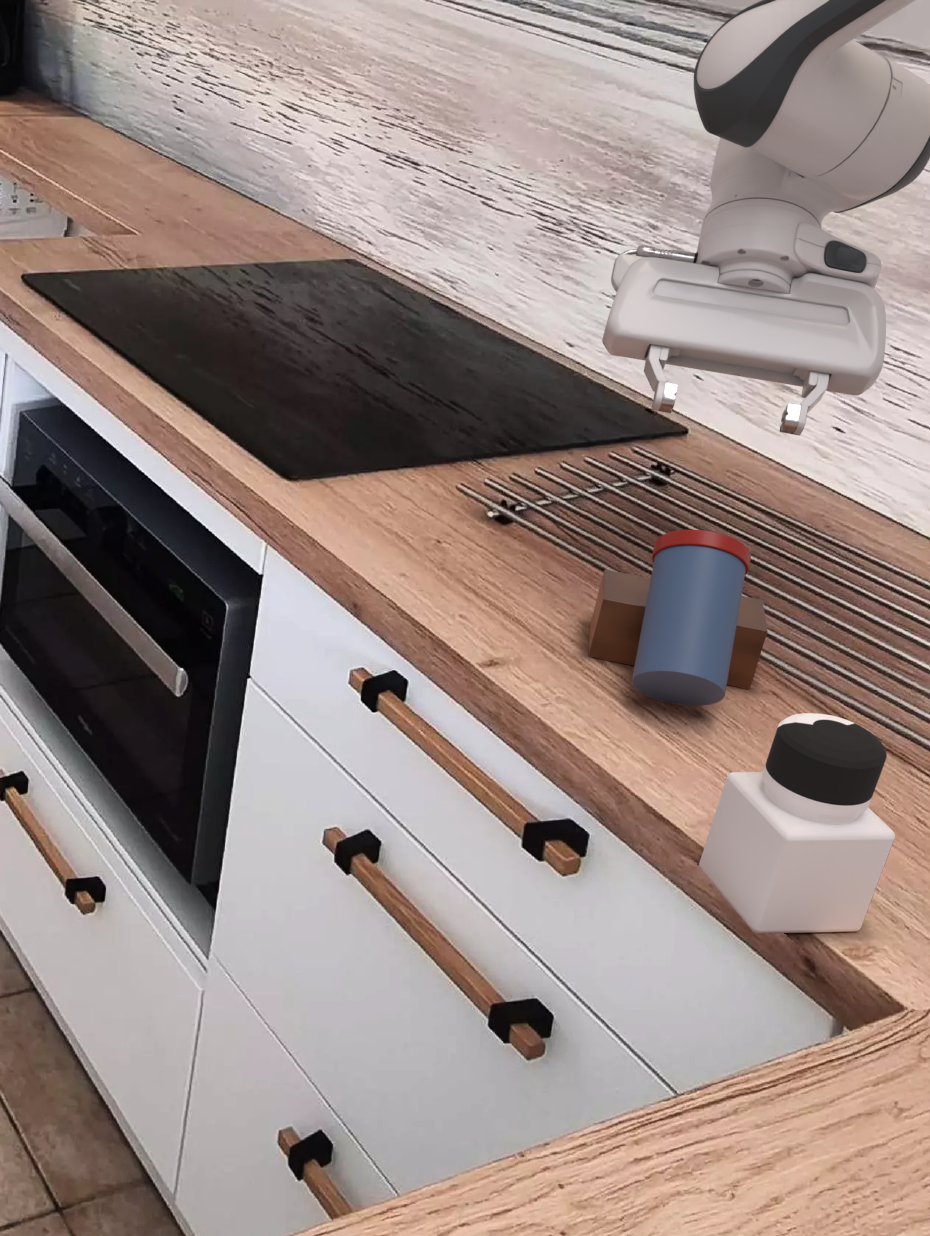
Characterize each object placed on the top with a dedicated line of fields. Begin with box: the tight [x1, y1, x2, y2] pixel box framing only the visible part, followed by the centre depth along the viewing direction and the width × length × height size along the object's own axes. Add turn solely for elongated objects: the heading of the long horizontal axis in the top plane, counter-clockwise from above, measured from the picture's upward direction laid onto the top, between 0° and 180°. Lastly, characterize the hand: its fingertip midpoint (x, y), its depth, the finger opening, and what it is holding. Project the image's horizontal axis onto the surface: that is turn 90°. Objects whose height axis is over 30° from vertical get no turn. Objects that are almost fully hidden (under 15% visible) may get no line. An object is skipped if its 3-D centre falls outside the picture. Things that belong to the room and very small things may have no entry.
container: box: [631, 529, 752, 707], centre depth 127 cm, size 7×12×12 cm, turn 163°
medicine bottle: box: [698, 712, 896, 935], centre depth 103 cm, size 7×7×12 cm
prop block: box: [587, 569, 769, 690], centre depth 134 cm, size 12×6×5 cm, turn 73°
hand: (726, 419), depth 132 cm, fingers open, 8 cm apart
